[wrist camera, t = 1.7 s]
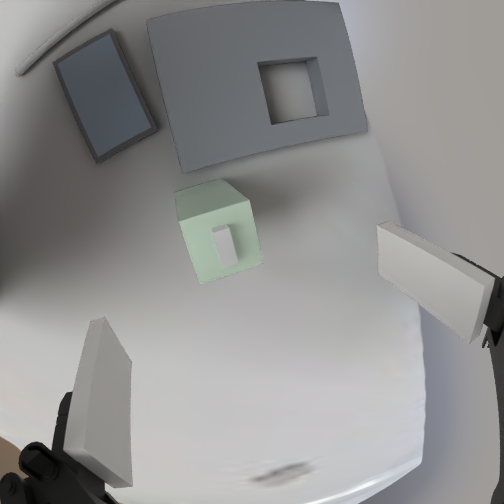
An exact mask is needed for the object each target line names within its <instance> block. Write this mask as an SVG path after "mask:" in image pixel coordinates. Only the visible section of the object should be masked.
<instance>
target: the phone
mask: <svg viewBox="0 0 504 504" xmlns="http://www.w3.org/2000/svg"><path fill="white" fill-rule="evenodd" d="M53 65H54V68H55V70H56V73H57V75H58V78H59V81H60V83H61V86H62V88H63V91H64V93H65V95H66V98H67V100H68V103H69V105H70V107H71V110H72V112H73V114H74V116H75V119H76V121H77V123H78V125H79V128H80V130H81V132H82V134H83V136H84V138H85V140H86V143H87V145H88V147H89V149H90V151H91V153H92V155H93V157H94V159H95V161H96V163H97V164H99V163H100V162H102V161H104V160H105V159H107V158H109V157H110V156H112V155H114V154H115V153H117V152H119V151H121V150H122V149H124V148H126V147H128V146H130V145H131V144H133V143H135V142H137V141H139V140H141V139H142V138H144V137H146V136H148V135H150V134H152V133H154V132H156V131H158V129H157V127H156V124H155V122H154V120H153V118H152V116H151V114H150V112H149V109H148V107H147V105H146V103H145V101H144V99H143V96H142V94H141V92H140V90H139V88H138V85H137V83H136V81H135V79H134V77H133V74H132V72H131V70H130V68H129V65H128V63H127V61H126V59H125V56H124V54H123V52H122V49H121V47H120V45H119V43H118V40H117V38H116V36H115V33H114V31H113V29H110V30H108V31H106V32H104V33H102V34H100V35H98V36H96V37H94V38H92V39H91V40H89V41H87V42H85V43H84V44H82V45H80V46H78V47H77V48H75V49H73V50H72V51H70V52H68V53H67V54H65V55H64V56H62V57H61V58H59V59H58V60H56V61H54V62H53Z"/></svg>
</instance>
